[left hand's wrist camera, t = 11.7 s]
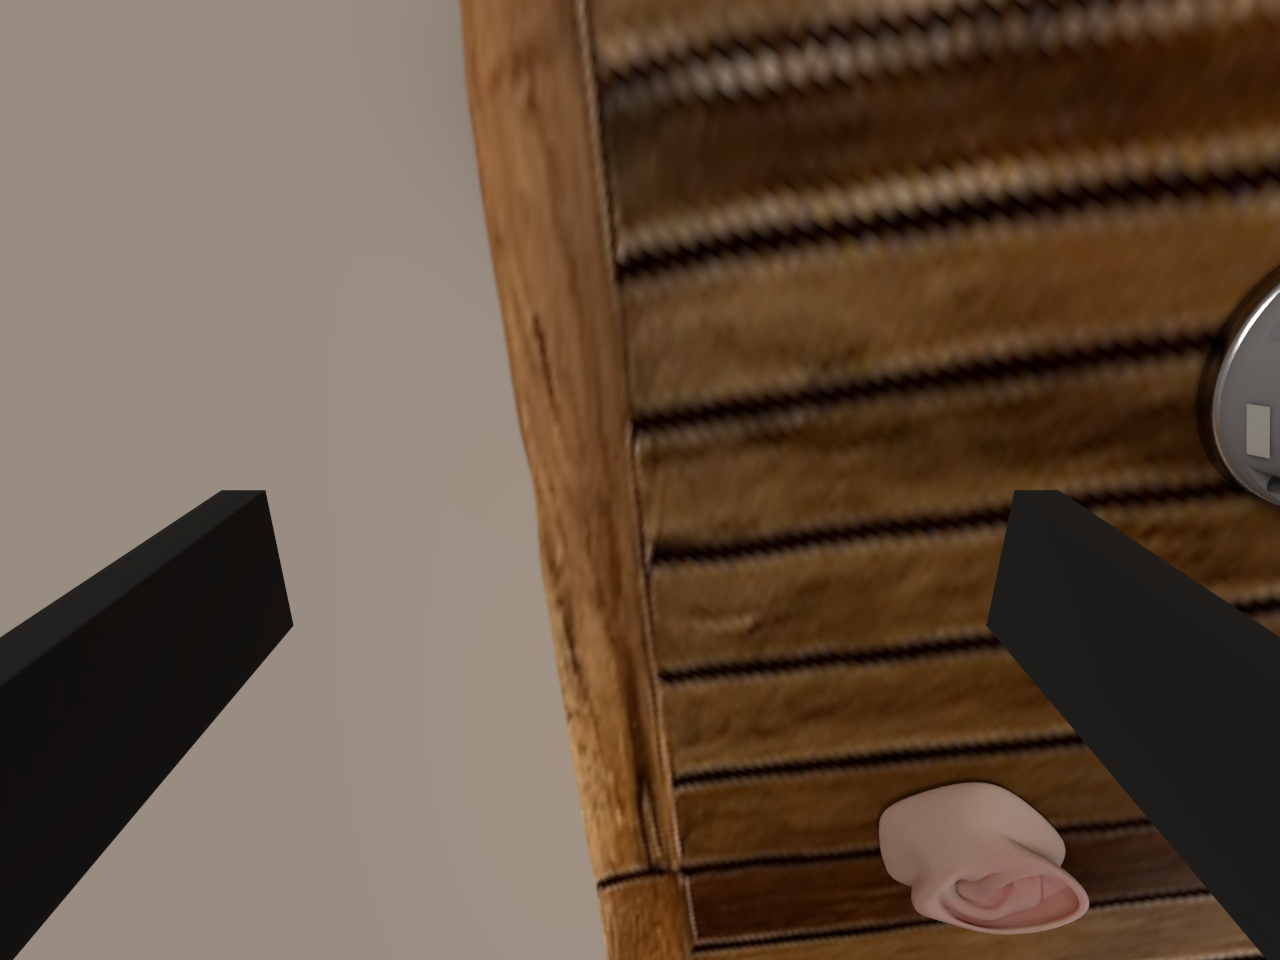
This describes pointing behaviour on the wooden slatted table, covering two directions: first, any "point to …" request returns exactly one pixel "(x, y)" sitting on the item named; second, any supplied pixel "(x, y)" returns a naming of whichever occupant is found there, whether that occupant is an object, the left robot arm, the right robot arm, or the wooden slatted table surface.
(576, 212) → the wooden slatted table surface
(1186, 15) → the wooden slatted table surface
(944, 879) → the anatomical model
